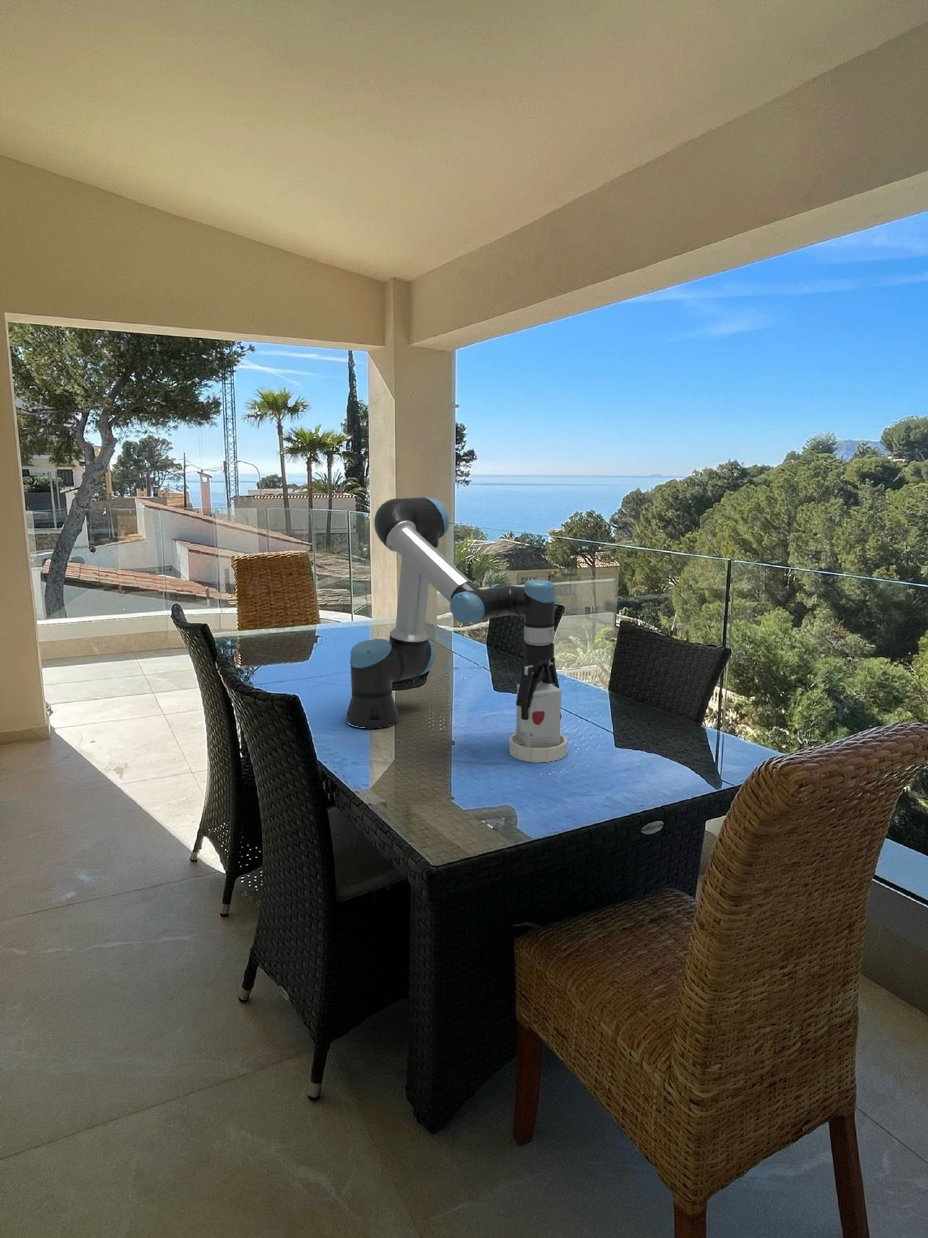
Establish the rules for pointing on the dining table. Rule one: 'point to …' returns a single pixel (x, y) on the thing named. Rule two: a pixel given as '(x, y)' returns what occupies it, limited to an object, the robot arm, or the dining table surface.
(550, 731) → the supplement box
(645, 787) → the dining table surface
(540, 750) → the bowl
